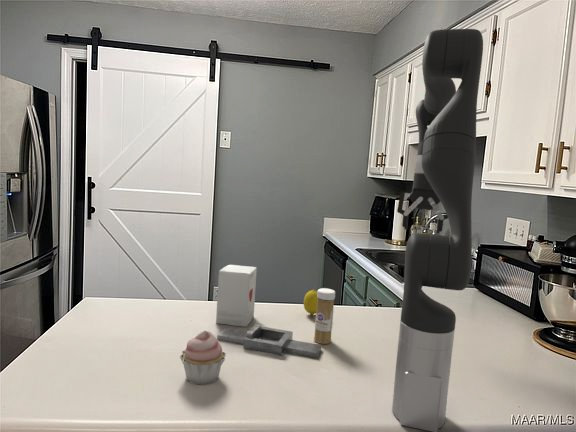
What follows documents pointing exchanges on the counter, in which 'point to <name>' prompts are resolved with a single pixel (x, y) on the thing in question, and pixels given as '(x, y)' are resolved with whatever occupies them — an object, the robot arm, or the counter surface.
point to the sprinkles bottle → (324, 315)
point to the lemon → (311, 302)
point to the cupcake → (203, 358)
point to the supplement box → (236, 295)
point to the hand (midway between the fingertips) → (421, 231)
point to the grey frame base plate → (276, 348)
